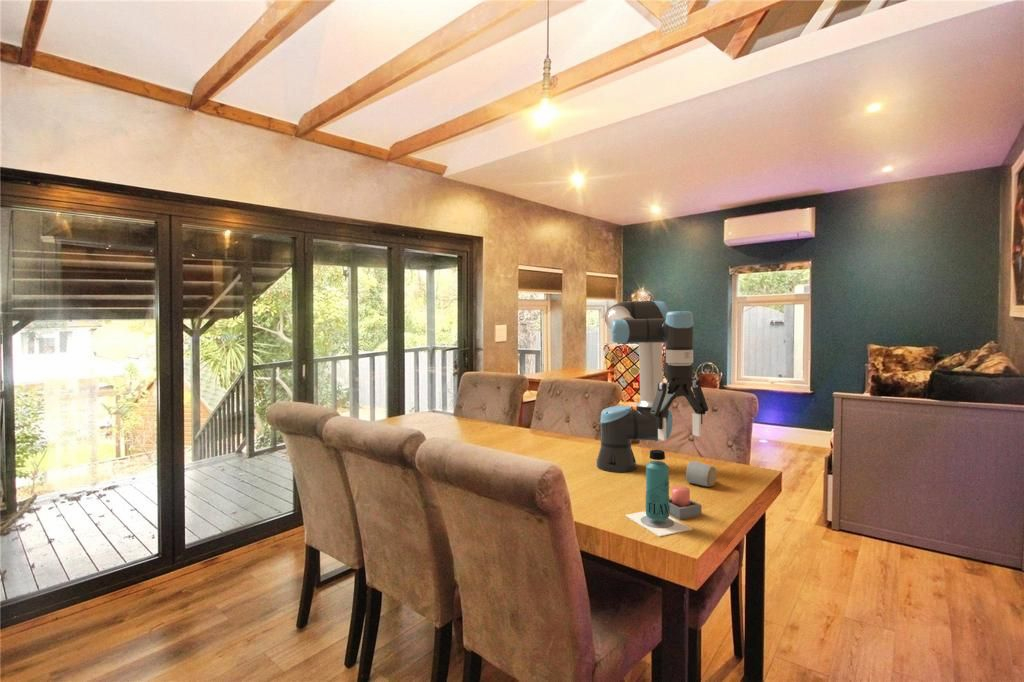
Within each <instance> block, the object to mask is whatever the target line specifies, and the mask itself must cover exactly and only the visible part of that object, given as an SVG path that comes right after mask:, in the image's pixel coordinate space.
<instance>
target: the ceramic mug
mask: <svg viewBox="0 0 1024 682" xmlns="http://www.w3.org/2000/svg"><path fill="white" fill-rule="evenodd" d="M685 478H686V481H687V483H689V484H694V485H698V486H702V487H708V488H711V487H713V486H714V485H715V484H716V481H717V469H716V468H715V467H714V466H713V465H710V464H706V463H703V462H699V461H695V460H690V461H689V462H688V464H687V466H686V473H685Z"/></svg>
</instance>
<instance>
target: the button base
mask: <svg viewBox="0 0 1024 682" xmlns="http://www.w3.org/2000/svg"><path fill="white" fill-rule="evenodd" d="M669 502H670V514H669V516H671V517H672V518H673V517H674V519H676V520H678V521H680V520H685V519H690V518H695V517H699V516H702V514H703V513H702V504H701V503H698V502H696V501H694V500H692V499H690V506H685V507H678V506H676V505H674V504H672V497H669Z"/></svg>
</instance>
